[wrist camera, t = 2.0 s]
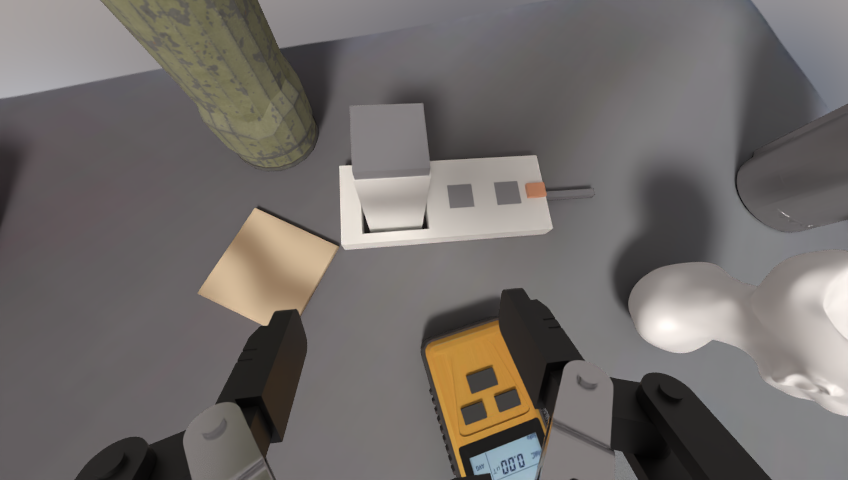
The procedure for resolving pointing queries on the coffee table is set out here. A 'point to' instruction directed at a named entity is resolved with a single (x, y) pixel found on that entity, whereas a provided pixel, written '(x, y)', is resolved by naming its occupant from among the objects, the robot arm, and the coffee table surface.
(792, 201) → the robot arm
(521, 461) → the electronic device
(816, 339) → the white irregular upright piece
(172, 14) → the thermos
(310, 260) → the cork coaster
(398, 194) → the block
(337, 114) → the coffee table surface
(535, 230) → the power strip
